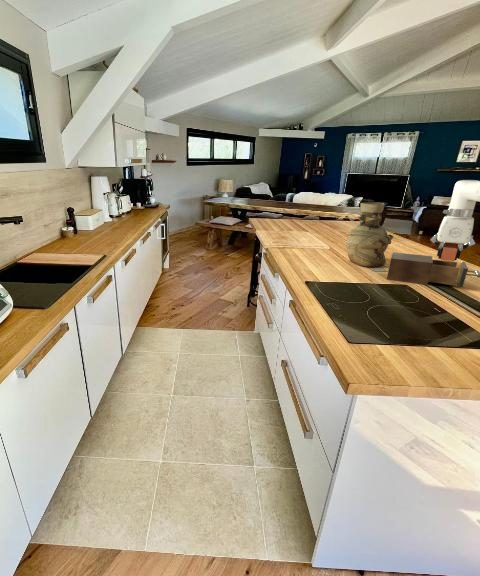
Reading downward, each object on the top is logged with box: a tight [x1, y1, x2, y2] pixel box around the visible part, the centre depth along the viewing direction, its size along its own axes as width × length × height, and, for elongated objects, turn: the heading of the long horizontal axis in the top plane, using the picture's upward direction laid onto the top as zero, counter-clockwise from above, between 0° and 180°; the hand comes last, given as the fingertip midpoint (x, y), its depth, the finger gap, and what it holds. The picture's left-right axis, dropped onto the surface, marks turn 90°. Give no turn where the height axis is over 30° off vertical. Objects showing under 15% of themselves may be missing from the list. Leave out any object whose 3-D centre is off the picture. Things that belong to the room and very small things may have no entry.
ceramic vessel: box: [346, 202, 394, 268], centre depth 157 cm, size 19×21×30 cm
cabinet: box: [386, 251, 434, 286], centre depth 137 cm, size 15×13×10 cm
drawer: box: [428, 258, 480, 289], centre depth 129 cm, size 18×11×8 cm, turn 56°
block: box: [440, 246, 457, 262], centre depth 128 cm, size 4×4×4 cm
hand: (447, 258), depth 128 cm, fingers closed on block, 4 cm apart
